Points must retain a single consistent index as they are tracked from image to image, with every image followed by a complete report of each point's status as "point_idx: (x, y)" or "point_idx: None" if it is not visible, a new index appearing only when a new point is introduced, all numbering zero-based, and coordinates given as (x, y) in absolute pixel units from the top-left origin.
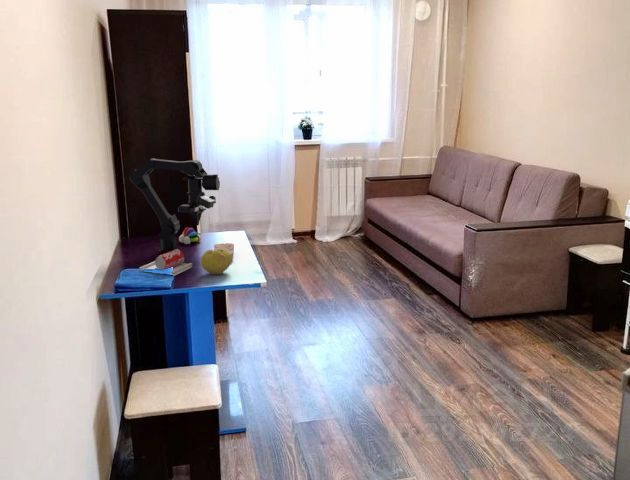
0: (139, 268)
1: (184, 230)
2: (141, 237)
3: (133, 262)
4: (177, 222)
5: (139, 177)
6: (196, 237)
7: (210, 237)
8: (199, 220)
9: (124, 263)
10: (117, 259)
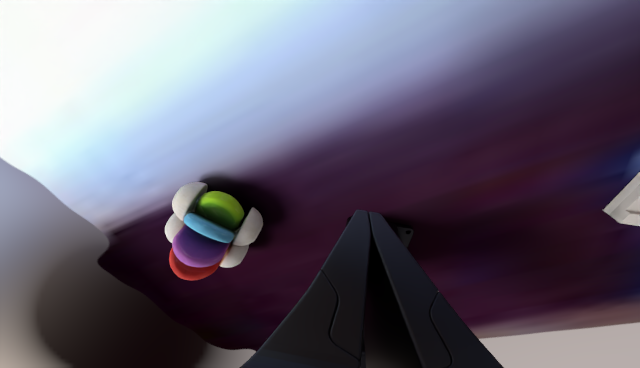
0: None
1: (208, 274)
2: (244, 336)
3: (561, 290)
4: (365, 361)
5: None
6: (204, 205)
7: (105, 172)
8: (348, 242)
9: (571, 307)
10: (505, 330)
